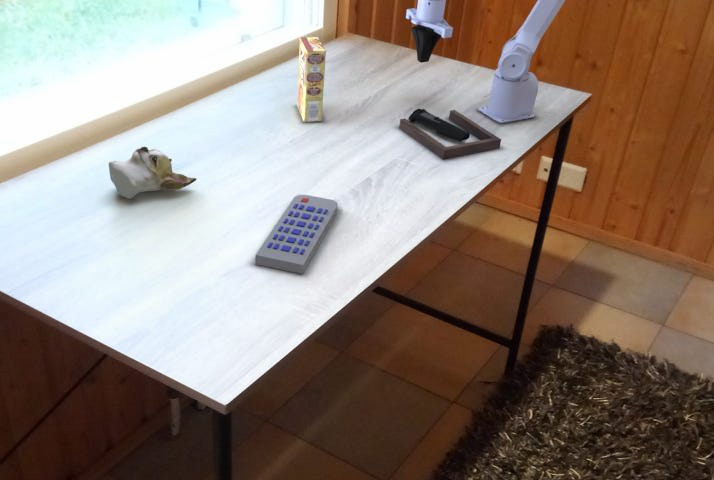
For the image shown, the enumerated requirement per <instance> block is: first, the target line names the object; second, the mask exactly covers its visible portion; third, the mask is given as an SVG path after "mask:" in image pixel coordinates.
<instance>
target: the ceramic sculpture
mask: <svg viewBox="0 0 714 480" xmlns="http://www.w3.org/2000/svg"><path fill="white" fill-rule="evenodd" d="M172 161H173V160H172V158H169V156H168V155H166V154H165V153H164V152H163V151H161V150H158V149H155V148H151V149H149V148H148V147H147V146H142V147H139V148H136V149H135V150H134V152H132V155H131V157H130V158H129V159H127V160H122V161H119V160H113V161H109V162H108V170H109V171H108V172H109V177H110V180H111V182H112V184H113V185H114V187H115V189H116V192H117V193H118V194H119V196H121V197H122V198H124V199H125V198H126V199H128V200H131V199H133V198H134V197H135V196H136V195H137V194H138V193H142V192H154V191H160V190H168V191H169V190H170V191H178V190H181V189H183V188H186V187H188V186H189V185H191V184H193V183H194V182H196V181H197V178H195V177H188V176H187V175H185V174H181V173H176V172H174V171H173V167H172V166H173V165H172Z"/></svg>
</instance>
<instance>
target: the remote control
mask: <svg viewBox="0 0 714 480" xmlns="http://www.w3.org/2000/svg"><path fill="white" fill-rule="evenodd" d="M338 206H339V205H338V202H337V201H336V200H334V199H330V198H325V197H320V196H315V195H308V194H297V195H296V196H294V197H293V198H292V200H291V201H290V203H289V205H288V206H287V207H286V209H285V210H284V212H283V213H282V215H281V216H280V218H279V219H278V221H277V222H276V224H275V225H274V226H273V228H272V230H271V231H270V232H269V234H268V236H267V237H266V239H265V240H264V242H263V243H262V245H261V246H260V247H259V249H258V251H257V252H256V254H255V259H254V261H255V262H254V264H255V265H257V266H262V267H266V268H267V267H268V268H271V269H277V270H280V271H281V270H282V271H286V272H291V273H295V274H300V275H304V272H305V271H306V269H307V268H308V265H309V264H310V262H311V260H312V258H313V257H314V255H315V253H316V252H317V249H318V248H319V246H320V244H321V243H322V241H323V239H324V237H325V236H326V234H327V233H328V230H329V229H330V226H331V225H332V223H333V221H334V220H335V218H336V216H337V214H338V208H339V207H338Z"/></svg>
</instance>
